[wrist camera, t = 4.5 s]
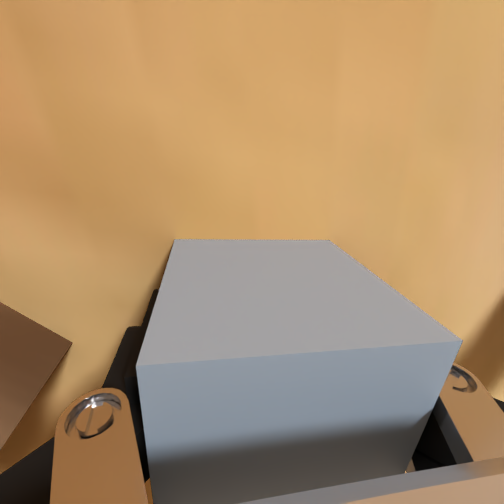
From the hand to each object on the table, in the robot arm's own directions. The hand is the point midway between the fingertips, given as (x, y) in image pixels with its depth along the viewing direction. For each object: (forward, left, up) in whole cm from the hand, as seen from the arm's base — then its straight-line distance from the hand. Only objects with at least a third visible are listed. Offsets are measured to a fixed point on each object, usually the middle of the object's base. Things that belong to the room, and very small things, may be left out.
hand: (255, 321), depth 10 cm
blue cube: (0, 0, -1) cm, 1 cm away
